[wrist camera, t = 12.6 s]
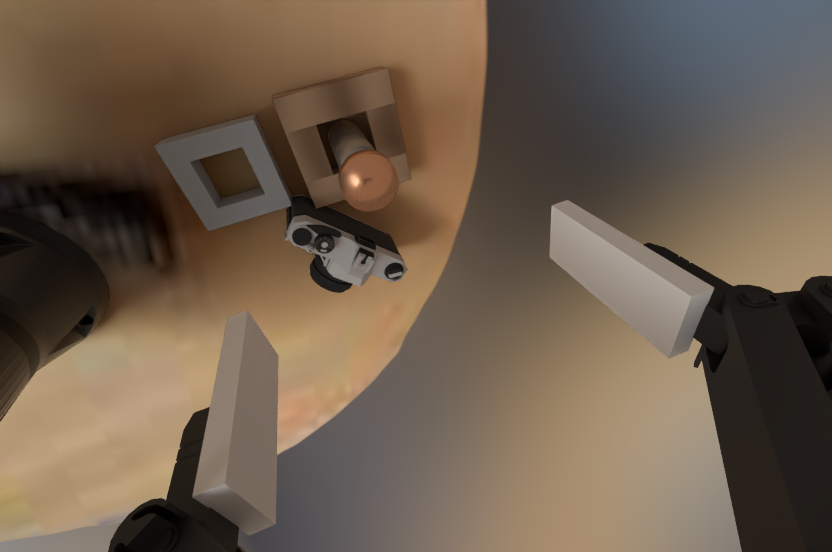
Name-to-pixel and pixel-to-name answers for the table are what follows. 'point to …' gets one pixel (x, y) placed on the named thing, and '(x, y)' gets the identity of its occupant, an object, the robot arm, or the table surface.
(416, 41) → the table surface
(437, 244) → the table surface
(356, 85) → the dock block
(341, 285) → the camera
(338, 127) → the lock pin
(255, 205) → the plate
